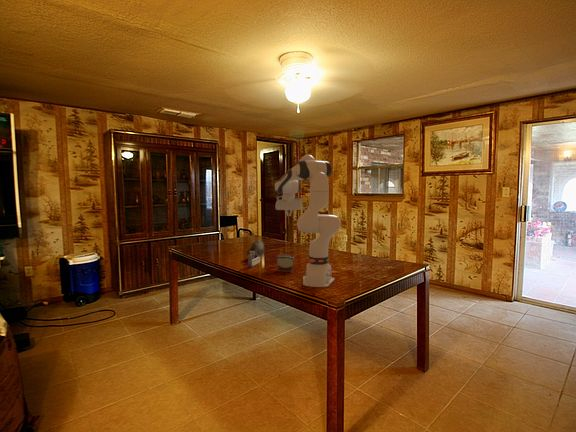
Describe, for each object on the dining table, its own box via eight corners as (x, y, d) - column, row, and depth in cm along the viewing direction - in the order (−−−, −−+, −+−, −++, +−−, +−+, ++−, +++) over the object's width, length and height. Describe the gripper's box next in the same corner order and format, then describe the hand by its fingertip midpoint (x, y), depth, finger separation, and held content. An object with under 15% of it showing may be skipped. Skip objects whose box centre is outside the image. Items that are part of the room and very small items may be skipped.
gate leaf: (252, 266, 214) (252, 260, 214) (250, 266, 215) (250, 260, 215) (260, 262, 228) (260, 256, 227) (258, 261, 228) (258, 256, 228)
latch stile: (253, 263, 226) (253, 251, 225) (249, 262, 227) (249, 251, 226) (254, 262, 228) (254, 251, 227) (250, 262, 229) (250, 250, 228)
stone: (255, 256, 250) (255, 237, 249) (266, 257, 245) (265, 238, 244) (244, 259, 238) (244, 240, 236) (255, 261, 233) (255, 241, 231)
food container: (296, 269, 207) (296, 254, 207) (294, 271, 201) (294, 256, 201) (278, 268, 211) (278, 254, 210) (276, 270, 205) (276, 255, 204)
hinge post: (251, 268, 211) (251, 254, 211) (247, 267, 212) (247, 254, 211) (252, 267, 214) (252, 253, 213) (249, 266, 215) (248, 253, 214)
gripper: (303, 197, 231) (303, 215, 232) (276, 197, 235) (277, 215, 236) (301, 197, 224) (301, 216, 226) (274, 197, 229) (274, 216, 230)
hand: (288, 216), depth 231 cm, fingers closed
